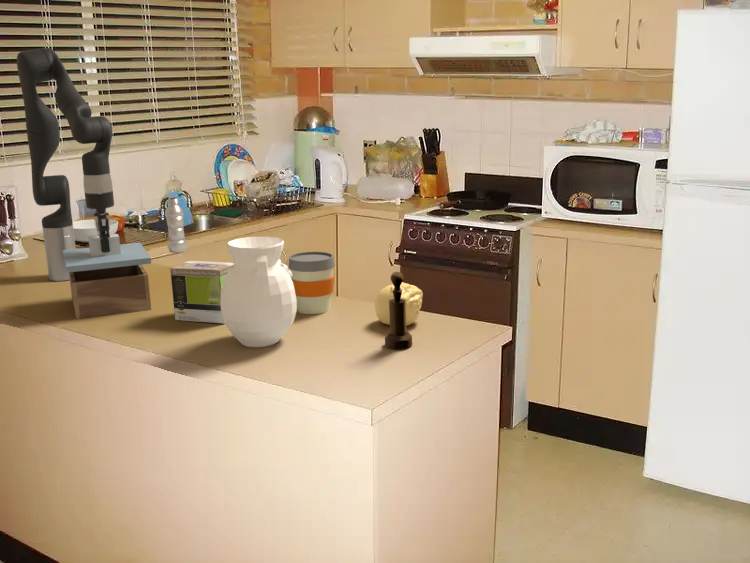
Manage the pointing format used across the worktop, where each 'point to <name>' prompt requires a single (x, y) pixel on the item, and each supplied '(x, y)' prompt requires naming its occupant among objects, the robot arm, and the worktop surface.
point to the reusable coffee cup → (312, 281)
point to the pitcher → (258, 292)
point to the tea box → (198, 290)
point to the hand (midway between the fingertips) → (105, 250)
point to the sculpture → (408, 293)
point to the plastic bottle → (175, 226)
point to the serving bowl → (90, 229)
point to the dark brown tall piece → (397, 317)
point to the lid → (105, 255)
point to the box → (110, 291)
